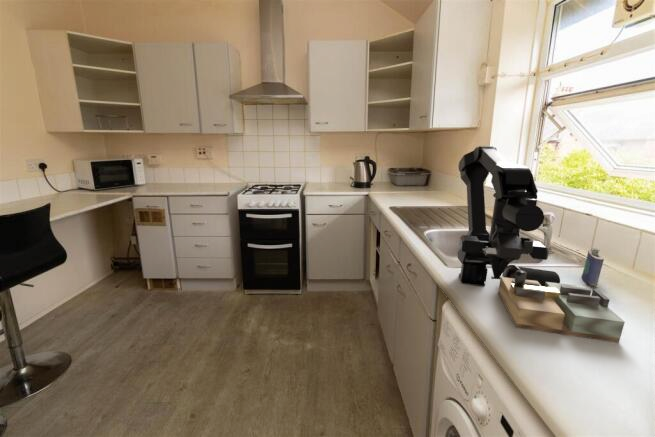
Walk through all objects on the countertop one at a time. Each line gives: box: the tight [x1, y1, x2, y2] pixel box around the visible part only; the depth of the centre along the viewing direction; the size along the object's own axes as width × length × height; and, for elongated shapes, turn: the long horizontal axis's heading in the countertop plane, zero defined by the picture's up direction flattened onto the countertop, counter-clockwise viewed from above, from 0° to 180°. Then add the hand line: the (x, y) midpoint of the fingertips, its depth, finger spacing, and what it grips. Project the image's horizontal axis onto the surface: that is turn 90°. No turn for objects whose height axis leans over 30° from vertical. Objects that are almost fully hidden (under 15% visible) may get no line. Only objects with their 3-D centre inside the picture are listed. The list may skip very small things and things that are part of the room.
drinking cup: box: [490, 264, 561, 287], centre depth 90 cm, size 8×8×20 cm
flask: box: [581, 247, 605, 288], centre depth 95 cm, size 9×3×11 cm, turn 151°
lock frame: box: [497, 276, 626, 343], centre depth 77 cm, size 20×17×7 cm
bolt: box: [510, 270, 560, 299], centre depth 77 cm, size 10×2×5 cm, turn 75°
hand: (496, 278), depth 80 cm, fingers closed
